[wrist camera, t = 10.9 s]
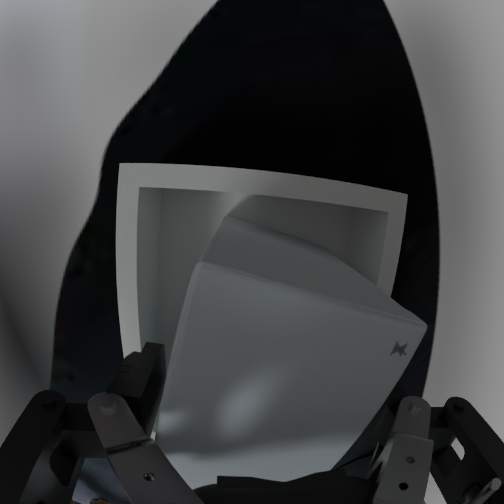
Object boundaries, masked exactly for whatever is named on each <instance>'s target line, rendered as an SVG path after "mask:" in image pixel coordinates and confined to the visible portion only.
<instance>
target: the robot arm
mask: <svg viewBox="0 0 504 504" xmlns="http://www.w3.org/2000/svg"><path fill="white" fill-rule="evenodd" d="M165 380H166V358H165V346H164V344H160V343H153V342H146V343H145V345H144V347H143V349H142V351H141V352H136V351H133V352H132V353H130V354H129V355H128V356H126V357H125V359H124V360H123V362H122V364H121V366H120V367H119V369H118V372H116V374H115V376H114V378H113V379H112V381H111V383H110V385H109V387H108V388H107V390H106V392H105V393H100V394H97V395H95V396H93V397H92V398H91V399H90V400H89V402H88V403H84V404H81V403H67V402H66V400H65V398H64V396H63V395H62V394H61V393H59V392H57V391H54V390H45V391H41V392H39V393H37V394H36V395H34V397H33V398H32V399H31V401H30V402H29V404H28V405H27V407H26V408H25V410H24V411H23V412H22V414H21V416H20V417H19V419H18V420H17V422H16V423H15V425H14V426H13V428H12V430H11V431H10V433H9V434H8V436H7V437H6V439H5V441H4V442H3V444H2V446H1V447H0V504H70V502H71V499H72V496H73V492H74V489H75V486H76V483H77V480H78V477H79V474H80V471H81V468H82V465H83V462H84V460H85V457H86V458H107V459H108V461H109V463H110V465H111V467H112V469H113V471H114V473H115V475H116V477H117V479H118V481H119V482H120V484H121V486H122V488H123V489H124V491H125V493H126V495H127V496H128V498H129V500H130V502H131V503H132V504H426V503H425V501H424V497H425V492H426V488H427V483H428V477H429V472H430V473H431V474H432V476H433V478H434V480H435V482H436V484H437V485H438V487H439V489H440V491H441V493H442V495H443V497H444V499H445V501H446V503H447V504H504V443H503V442H502V441H501V439H500V438H499V437H498V435H497V434H496V433H495V432H494V431H493V429H492V428H491V427H490V426H489V425H488V424H487V422H486V421H485V420H484V419H483V418H482V416H481V415H480V414H479V413H478V412H477V411H476V410H475V408H474V407H473V406H472V405H471V404H470V403H469V402H468V401H467V400H465V399H463V398H460V397H451V398H449V399H448V400H447V402H446V403H445V405H444V407H430V405H429V403H428V402H427V401H425V400H424V399H422V398H420V397H416V396H409V395H408V394H407V393H406V392H405V390H404V389H403V388H402V387H401V385H400V384H399V383H398V382H397V383H396V385H395V386H394V388H393V390H392V391H391V393H390V394H389V396H388V397H387V399H386V400H385V402H384V403H383V405H382V406H381V407H380V409H379V410H378V412H377V413H376V415H375V416H374V417H373V419H372V420H371V421H370V423H369V424H368V425H367V427H366V428H365V429H364V431H363V434H364V436H365V438H366V440H367V441H371V440H376V439H378V440H379V443H378V445H377V447H376V449H375V452H374V454H373V456H369V457H365V458H362V459H359V460H357V461H354V462H352V463H350V464H348V465H345V466H343V467H342V468H340V469H337V470H330V471H324V472H316V473H313V474H310V475H307V476H304V477H301V478H297V479H294V480H290V481H286V482H281V481H274V480H267V479H261V478H255V477H243V476H217V483H216V484H209V485H205V486H201V487H198V488H195V489H193V490H192V489H191V488H190V487H189V485H188V484H187V483H186V482H185V481H184V479H183V478H182V477H181V476H180V474H179V473H178V472H177V470H176V469H175V468H174V467H173V465H172V464H171V463H170V461H169V460H168V459H167V457H166V456H165V455H164V453H163V452H162V450H161V449H160V448H159V446H158V445H157V443H156V442H155V441H154V440H153V439H152V438H150V437H151V434H152V430H153V427H154V423H155V420H156V416H157V413H158V409H159V406H160V403H161V399H162V396H163V391H164V385H165ZM455 438H457V439H458V441H459V442H460V443H461V445H462V446H463V447H464V451H465V454H464V457H463V459H462V460H460V458H459V457H458V455H457V454H456V452H455V451H454V449H453V448H452V446H451V444H452V442H453V441H454V439H455Z"/></svg>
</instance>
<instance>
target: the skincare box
mask: <svg viewBox="0 0 504 504" xmlns="http://www.w3.org/2000/svg"><path fill="white" fill-rule="evenodd" d="M426 330H427V325H426V323H425V322H423V321H422V320H421V319H419V318H418V317H417V316H415V315H414V314H413V313H411V312H410V311H408V310H406V309H404V308H403V307H402V306H400V305H399V304H398V303H397V302H396V301H394V300H393V299H392V298H391V297H389V296H388V295H387V294H386V293H384V292H383V291H382V290H380V289H379V288H378V287H377V286H375V285H374V284H373V283H371V282H370V281H369V280H368V279H366V278H365V277H363V276H362V275H361V274H359V273H358V272H357V271H355V270H354V269H352V268H351V267H350V266H348V265H347V264H346V263H344V262H343V261H342V260H340V259H339V258H338V257H336V256H335V255H333V254H332V253H331V252H329V251H328V250H327V249H326V248H325V247H323V246H321V245H318V244H315V243H312V242H309V241H306V240H303V239H300V238H297V237H294V236H291V235H288V234H285V233H282V232H279V231H276V230H273V229H270V228H266V227H263V226H260V225H257V224H254V223H251V222H247V221H244V220H241V219H237V218H234V217H230V216H225V217H224V218H223V220H222V222H221V224H220V225H219V227H218V229H217V230H216V232H215V233H214V235H213V236H212V238H211V240H210V241H209V243H208V244H207V246H206V248H205V249H204V251H203V253H202V254H201V256H200V258H199V260H198V262H197V263H196V266H195V268H194V270H193V273H192V276H191V279H190V282H189V285H188V289H187V292H186V296H185V299H184V303H183V307H182V310H181V314H180V318H179V322H178V326H177V330H176V335H175V339H174V343H173V347H172V352H171V356H170V361H169V366H168V370H167V375H166V380H165V385H164V391H163V396H162V401H161V407H160V412H159V418H158V424H157V429H156V435H155V442H156V443H157V445H158V446H159V448H160V449H161V450H162V452H163V453H164V455H165V456H166V457H167V459H168V460H169V461H170V463H171V464H172V465H173V467H174V468H175V469H176V470H177V472H178V473H179V474H180V476H181V477H182V478H183V479H184V481H185V482H186V483H187V484H188V485H189V487H190V488H191V489H192V490H193V489H195V488H198V487H201V486H205V485H209V484H216V483H217V476H243V477H255V478H261V479H267V480H274V481H281V482H286V481H290V480H294V479H297V478H301V477H304V476H307V475H310V474H313V473H316V472H324V471H330V470H331V469H332V468H333V467H334V465H335V464H336V463H337V462H338V461H339V460H340V459H341V458H342V456H343V455H344V454H345V453H346V452H347V451H348V450H349V448H350V447H351V446H352V445H353V443H354V442H355V441H356V440H357V438H358V437H359V436H360V435H361V433H362V432H363V431H364V429H365V428H366V427H367V425H368V424H369V423H370V421H371V420H372V419H373V417H374V416H375V415H376V413H377V412H378V410H379V409H380V407H381V406H382V405H383V403H384V402H385V400H386V399H387V397H388V396H389V394H390V393H391V391H392V390H393V388H394V386H395V385H396V383H397V382H398V380H399V379H400V377H401V375H402V374H403V372H404V370H405V368H406V367H407V365H408V363H409V362H410V360H411V358H412V356H413V354H414V353H415V351H416V349H417V347H418V345H419V343H420V342H421V340H422V338H423V336H424V334H425V332H426Z"/></svg>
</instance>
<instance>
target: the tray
mask: <svg viewBox="0 0 504 504" xmlns="http://www.w3.org/2000/svg"><path fill="white" fill-rule="evenodd" d="M407 197H408V194H403V193H399V192H394V191H390V190H385V189H380V188H375V187H370V186H364V185H359V184H353V183H348V182H342V181H336V180H330V179H323V178H317V177H310V176H303V175H295V174H287V173H279V172H271V171H262V170H252V169H241V168H229V167H216V166H201V165H182V164H152V163H120V168H119V179H118V193H117V214H116V273H117V293H118V308H119V319H120V329H121V338H122V347H123V354H124V359H125V357H126V356H128V355H129V354H130V353H132V352H133V351H136V352H141V351H142V349H143V347H144V345H145V343H146V342H153V343H160V344H164V346H165V358H166V375H167V370H168V366H169V361H170V356H171V352H172V347H173V343H174V339H175V335H176V330H177V326H178V322H179V318H180V314H181V310H182V307H183V303H184V299H185V296H186V292H187V289H188V285H189V282H190V279H191V276H192V273H193V270H194V268H195V266H196V263H197V262H198V260H199V258H200V256H201V254H202V253H203V251H204V249H205V248H206V246H207V244H208V243H209V241H210V240H211V238H212V236H213V235H214V233H215V232H216V230H217V229H218V227H219V225H220V224H221V222H222V220H223V218H224V217H225V216H230V217H234V218H237V219H241V220H244V221H247V222H251V223H254V224H257V225H260V226H263V227H266V228H270V229H273V230H276V231H279V232H282V233H285V234H288V235H291V236H294V237H297V238H300V239H303V240H306V241H309V242H312V243H315V244H318V245H321V246H323V247H325V248H326V249H327V250H328V251H329V252H331V253H332V254H333V255H335V256H336V257H338V258H339V259H340V260H342V261H343V262H344V263H346V264H347V265H348V266H350V267H351V268H352V269H354V270H355V271H357V272H358V273H359V274H361V275H362V276H363V277H365V278H366V279H368V280H369V281H370V282H371V283H373V284H374V285H375V286H377V287H378V288H379V289H380V290H382V291H383V292H384V293H386V294H387V295H388V296H389V297H391V293H392V288H393V284H394V279H395V274H396V270H397V265H398V259H399V254H400V248H401V242H402V236H403V229H404V222H405V215H406V206H407ZM161 401H162V399H161ZM160 407H161V403H160V406H159V409H158V413H157V416H156V420H155V423H154V427H153V430H152V434H151V437H150V438H152V439H153V440H154V441H155V435H156V429H157V424H158V418H159V412H160Z"/></svg>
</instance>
